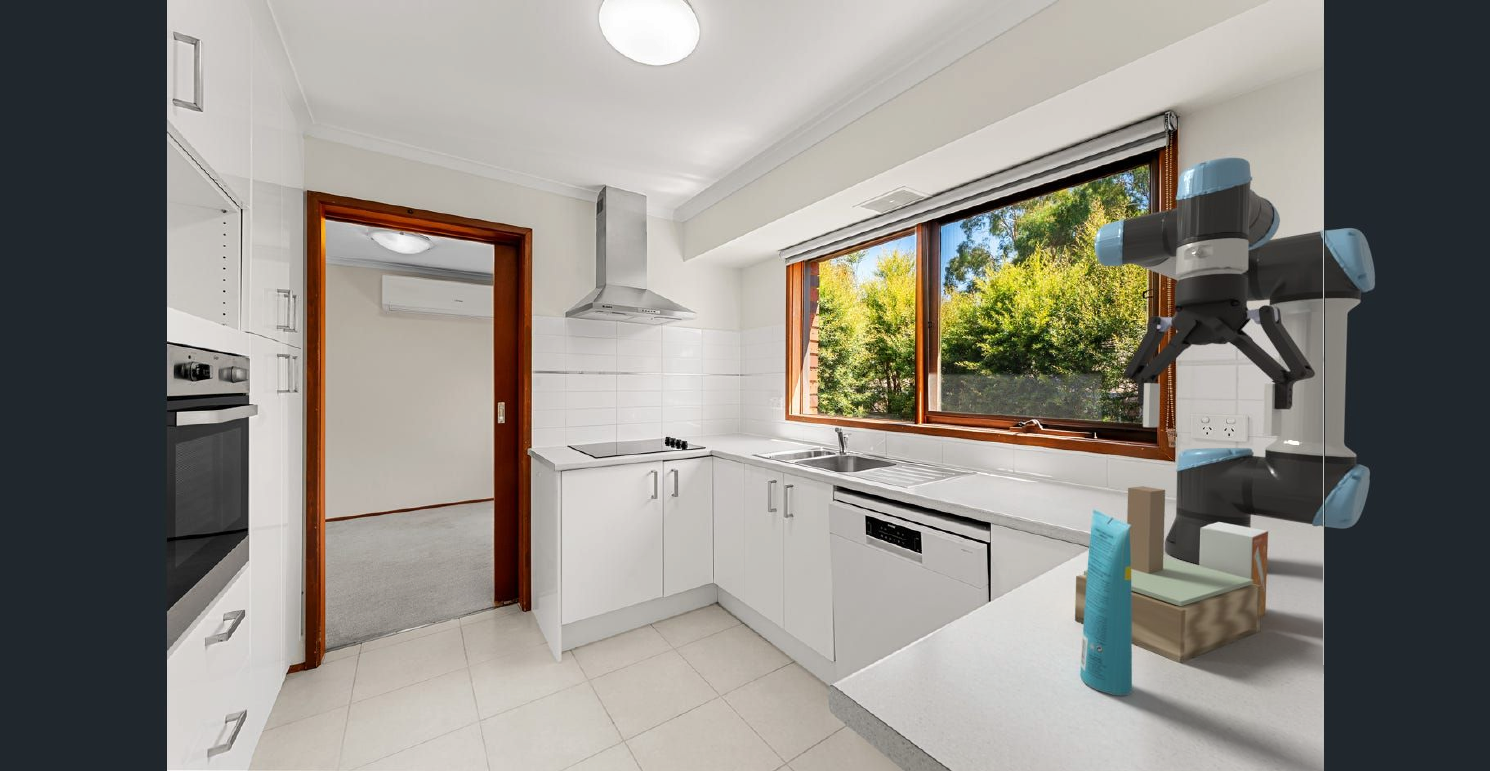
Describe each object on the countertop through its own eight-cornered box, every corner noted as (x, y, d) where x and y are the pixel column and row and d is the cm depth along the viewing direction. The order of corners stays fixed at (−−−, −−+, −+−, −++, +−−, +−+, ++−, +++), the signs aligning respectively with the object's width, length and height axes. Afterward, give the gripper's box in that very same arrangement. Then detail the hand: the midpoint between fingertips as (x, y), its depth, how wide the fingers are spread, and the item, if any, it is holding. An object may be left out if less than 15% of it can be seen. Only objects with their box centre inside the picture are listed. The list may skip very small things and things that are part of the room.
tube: (1150, 704, 57) (1155, 525, 57) (1104, 702, 57) (1109, 523, 57) (1105, 667, 64) (1109, 509, 64) (1064, 666, 64) (1069, 508, 64)
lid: (1157, 558, 87) (1159, 481, 87) (1253, 584, 76) (1255, 496, 76) (1083, 575, 78) (1086, 489, 78) (1180, 606, 67) (1183, 506, 67)
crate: (1156, 597, 88) (1157, 558, 88) (1259, 630, 76) (1260, 585, 76) (1074, 620, 78) (1076, 576, 78) (1180, 662, 66) (1181, 610, 66)
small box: (1251, 625, 78) (1253, 536, 78) (1196, 609, 83) (1198, 526, 83) (1267, 613, 82) (1269, 530, 82) (1214, 599, 88) (1216, 520, 88)
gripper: (1099, 288, 83) (1096, 424, 82) (1328, 253, 60) (1323, 440, 60) (1128, 293, 86) (1124, 424, 86) (1354, 262, 63) (1350, 439, 63)
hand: (1206, 431), depth 73 cm, fingers open, 13 cm apart
